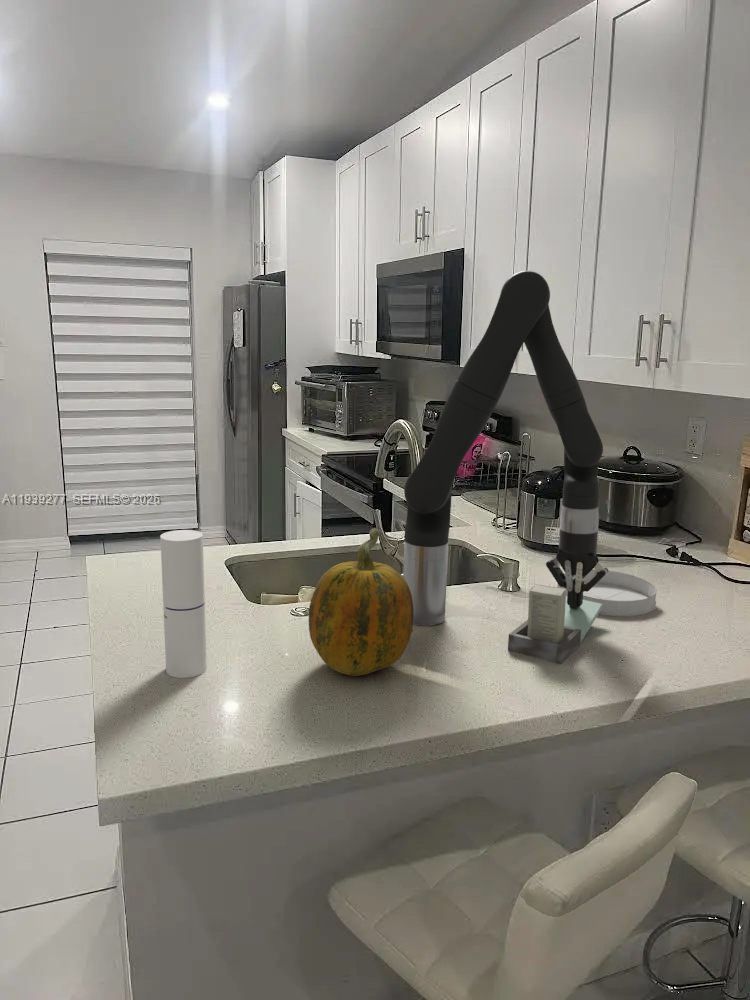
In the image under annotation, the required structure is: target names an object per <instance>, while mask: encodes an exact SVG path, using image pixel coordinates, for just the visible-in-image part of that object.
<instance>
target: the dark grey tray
mask: <svg viewBox="0 0 750 1000" xmlns="http://www.w3.org/2000/svg"><path fill="white" fill-rule="evenodd" d="M527 633H528V619H527V620H525V621H524V622H523V623H522V624H520V625H519V626H518V627H516V628H515V629H514V630H512V631H511V632H510V633H508V640H507V651H510V652H513V653H517V654H521V655H525V656H529V657H533V658H536V659H539V660H544V661H547V662H550V663H555V664H557V665H558V664H559V665H562V664H563V662H566V660H567V659H568V658H569V657H570V656H571V655H572V654H573V653H574V652H575V651H576V650H577V649H578V648H579V647H581V643H580V639H581V630H580V629H576V628H572V627H567V626H564V637H563V641H562V642H561V643H560V644H559V645H558V644H554V643H550V642H546V641H542V640H538V639H534V638H531V637H527Z"/></svg>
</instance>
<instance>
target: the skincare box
mask: <svg viewBox="0 0 750 1000" xmlns="http://www.w3.org/2000/svg"><path fill="white" fill-rule="evenodd" d="M565 603H566V589H563V588H557V587H555V586H550V585H542V584H534V585H533V586H532V587H531V588H530V589H529V591H528V611H527V612H528V613H527V616H528V617H527V620H528V633H527V637H531V638H534V639H538V640H542V641H546V642H550V643H554V644H558V645H559V644H560V643H561V642H562V641H563V637H564V621H565Z"/></svg>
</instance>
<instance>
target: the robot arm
mask: <svg viewBox="0 0 750 1000" xmlns="http://www.w3.org/2000/svg"><path fill="white" fill-rule="evenodd" d="M550 299H551V291H550V286H549V284H548V282H547V280H546V279H545V278H544V277H543V275H541V274H540V273H538V272H535V271H532V270H521V271H518V272H517V273H513V274H512V275H511V276H510V277H508V278H507V279H506V281H505V282H504V284H503V285H502V287H501V291H500V295H499V297H498V300H497V303H496V306H495V309H494V312H493V314H492V316H491V319H490V321H489V324H488V326H487V328H486V331H485V332H484V334H483V337H482V338H481V340H480V342H479V343H478V344H477V346H476V347H475V348H474V350H473V352H472V353H471V355H470V356H469V358H468V359H467V361H466V363H465V364H464V366H463V368H462V370H461V372H460V373H459V374H458V376H457V379H456V380H455V382H454V385H453V386H452V389H451V391H450V392H449V395H448V396H447V399H446V402H445V404H444V406H443V409H442V411H441V414H440V416H439V419H438V422H437V424H436V427H435V429H434V433H433V436H432V438H431V441H430V442H429V445H428V447H427V448H426V449H425V452H424V454H423V455H422V456H421V458H420V460H419V462H418V464H416V466H415V468H414V469H413V471H412V472H411V473H410V475H409V476H408V477H407V479H406V481H405V484H404V487H403V489H404V490H403V491H404V493H403V494H404V497H405V501H406V503H407V508H406V509H407V512H406V521H405V527H404V539H403V540H404V543H403V546H404V547H403V571H402V572H403V573H401V574H400V575H401V576H402V577H403V578H404V579H405V580H406V582H407V584H408V586H409V588H410V591H411V594H412V599H413V609H414V619H413V625H416V626H426V627H427V626H434V625H435V626H436V625H439V624H442V623H443V622H444V621H445V620H446V603H447V600H446V599H447V582H448V581H447V579H448V560H449V559H448V556H449V533H450V528H451V527H450V526H451V511H452V494H453V492H452V491H453V490H452V489H453V484H454V481H455V478H456V476H457V473H458V471H459V469H460V466H461V464H462V463H463V460H464V459H465V457H466V455H467V454H468V452H469V451H470V449H471V448H472V446H473V445H474V444H475V442H476V440H477V439H478V438H479V436H480V434H481V433H482V431H483V430H484V429H485V426H486V425H487V423H488V422H489V419H490V418H491V416H492V415H493V412H494V410H495V409H496V406H497V404H498V403H499V400H500V399H501V397H502V394H503V392H504V390H505V387H506V386H507V383H508V380H509V377H510V375H511V373H512V370H513V367H514V366H515V365H514V364H515V362H516V359H517V356H518V354H519V352H520V350H521V348H522V346H523V344H524V345H525V347H526V350H527V352H528V354H529V355H528V356H529V358H530V361H531V362H532V366H533V369H534V371H535V375H536V379H537V382H538V384H539V387H540V390H541V393H542V396H543V398H544V401H545V403H546V406H547V408H548V410H549V414H550V415H551V418H552V419H553V421H554V423H555V424H556V427H557V430H558V433H559V437H560V439H561V442H562V445H563V469H564V480H563V487H562V501H561V503H562V504H561V511H560V518H559V519H560V520H559V523H558V525H559V535H558V551H557V553H556V555H555V557H554V558H550V559H548V560H547V562H545V566H546V568H547V569H548V571H549V572H550V574H551V575H552V577H553V578H554V580H555V581H556V583H557V585H559V586H560V587H564V588H566V589H567V591H568V594H567V604H568V605H570V606H569V607H570V608H572V609H578V608H579V607H580V606H581V605H582V603H583V596H584V595H583V592H584V591H586V592H588V591H589V590H590V589H591V588H592V587H593V586H594V585H595V584H596V583H597V582H599V581H600V580H601V579H602V578H603V577H604V576H605V575H606V574H607V573H608V571H609V568H608V567H604V566H602V565H601V563H599V558H598V554H597V552H598V539H599V538H598V537H599V536H598V535H599V521H600V519H599V517H600V514H599V497H600V496H599V495H600V484H599V480H598V470H599V461H600V460H601V458H602V456H603V453H604V445H603V442H602V440H601V436H600V435H599V433H598V430H597V428H596V425H595V423H594V421H593V420H592V419H593V418H592V417H591V415H590V413H589V410H588V406H587V403H586V399H585V397H584V394H583V392H582V389H581V386H580V383H579V381H578V378H577V376H576V373H575V372H574V370H573V367H572V365H571V363H570V361H569V359H568V357H567V355H566V353H565V351H564V349H563V347H562V345H561V343H560V341H559V338H558V335H557V333H556V330H555V326H554V323H553V320H552V314H551V310H550V306H549V305H550ZM591 570H595V571H594V575H595V577H594V578H592V579H591V580H590V581H589V582H588V583H587V584H585V580H586V576H587V574H589V573H590V572H591ZM564 573H566V576H565V575H564Z"/></svg>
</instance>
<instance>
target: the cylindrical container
mask: <svg viewBox="0 0 750 1000" xmlns="http://www.w3.org/2000/svg"><path fill="white" fill-rule="evenodd" d="M159 536H160V556H161V557H160V558H161V559H160V560H161V576H162V577H161V580H162V581H161V582H162V583H161V584H162V603H163V604H162V606H163V627H164V630H163V631H164V649H165V650H164V654H165V671H166V674H167V675H168V676H170V677H173V678H176V679H177V678H178V679H188V678H194V677H197V676H201V675H202V674H204V673H205V672H206V671H207V670H208V663H207V662H208V661H207V660H208V657H207V633H206V631H207V630H206V629H207V628H206V593H205V569H204V568H205V566H204V565H205V564H204V556H205V555H204V534H203V533H202V532H201V531H198V530H193V529H178V530H170V531H166V532H163V533H162V534H160V535H159Z"/></svg>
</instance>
